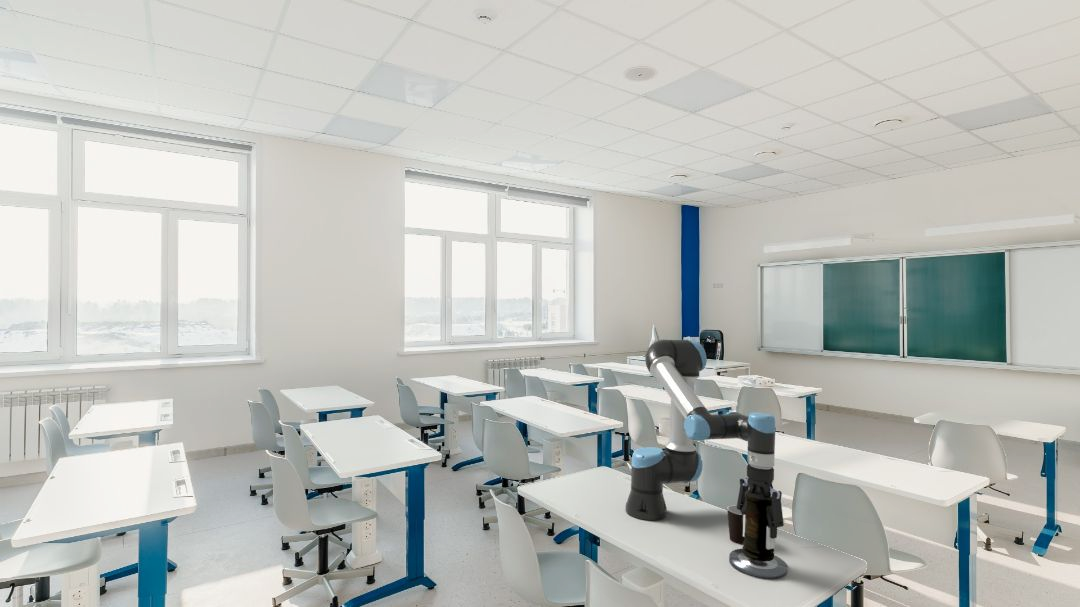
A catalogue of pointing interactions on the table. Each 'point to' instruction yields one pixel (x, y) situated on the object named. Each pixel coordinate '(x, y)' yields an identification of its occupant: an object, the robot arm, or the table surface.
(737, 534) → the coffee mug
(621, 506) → the table surface
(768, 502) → the container
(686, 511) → the table surface
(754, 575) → the dark gray plate
